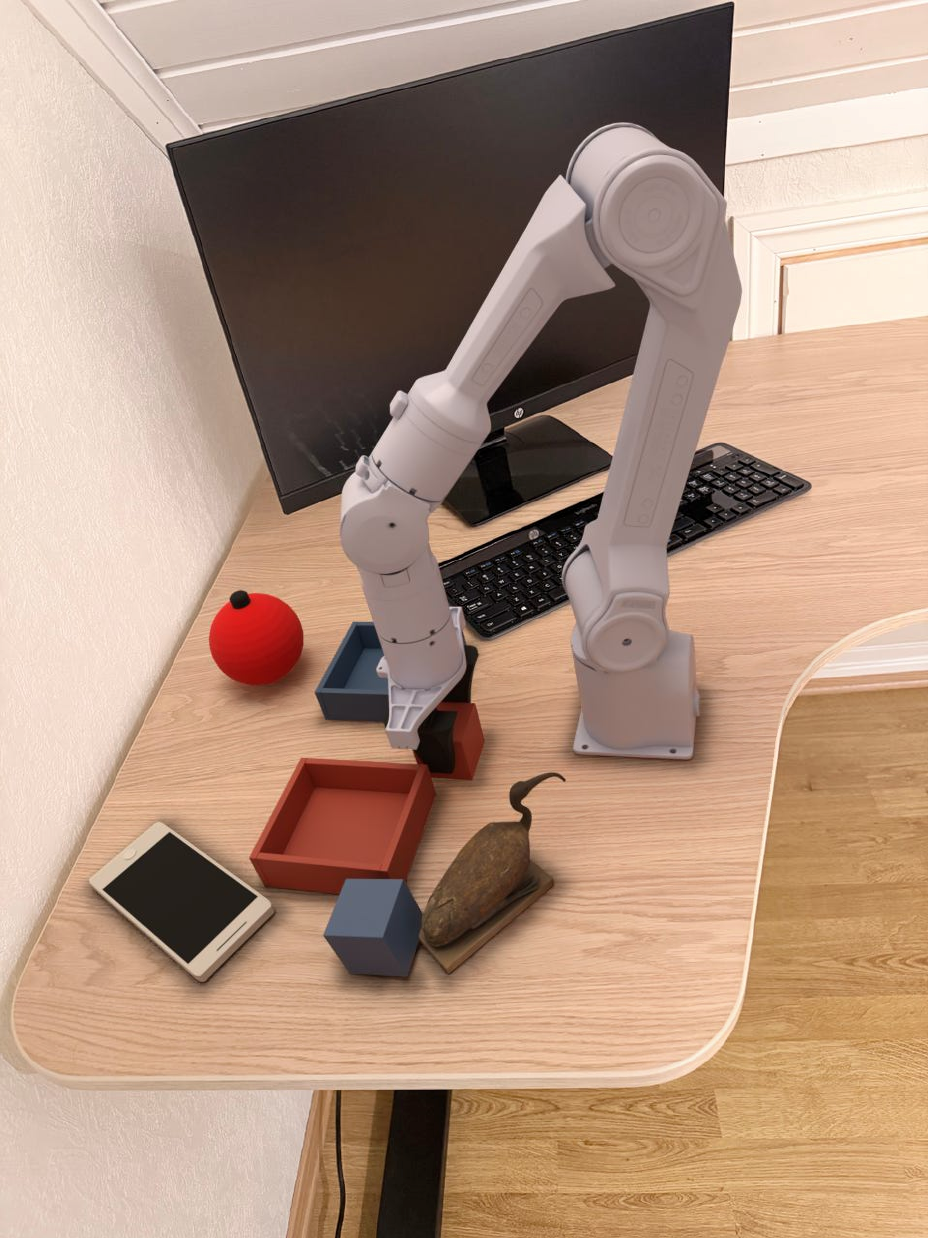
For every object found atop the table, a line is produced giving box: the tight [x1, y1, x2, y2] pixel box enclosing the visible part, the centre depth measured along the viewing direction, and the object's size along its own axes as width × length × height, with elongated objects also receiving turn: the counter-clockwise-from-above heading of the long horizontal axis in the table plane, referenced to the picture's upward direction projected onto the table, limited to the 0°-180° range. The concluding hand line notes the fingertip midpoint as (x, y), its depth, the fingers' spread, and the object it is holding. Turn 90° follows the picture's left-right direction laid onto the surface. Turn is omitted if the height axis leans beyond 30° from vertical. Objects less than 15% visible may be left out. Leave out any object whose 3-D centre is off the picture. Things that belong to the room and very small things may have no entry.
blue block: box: [322, 879, 424, 978], centre depth 62 cm, size 4×4×4 cm
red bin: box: [248, 757, 437, 895], centre depth 71 cm, size 11×10×4 cm
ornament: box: [208, 589, 305, 687], centre depth 88 cm, size 9×9×10 cm
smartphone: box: [88, 821, 276, 983], centre depth 70 cm, size 7×16×1 cm, turn 50°
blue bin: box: [314, 621, 467, 723], centre depth 85 cm, size 11×10×4 cm
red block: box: [412, 702, 486, 781], centre depth 75 cm, size 4×4×4 cm
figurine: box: [419, 771, 567, 975], centre depth 63 cm, size 14×4×9 cm, turn 129°
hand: (450, 747), depth 76 cm, fingers closed on red block, 4 cm apart
